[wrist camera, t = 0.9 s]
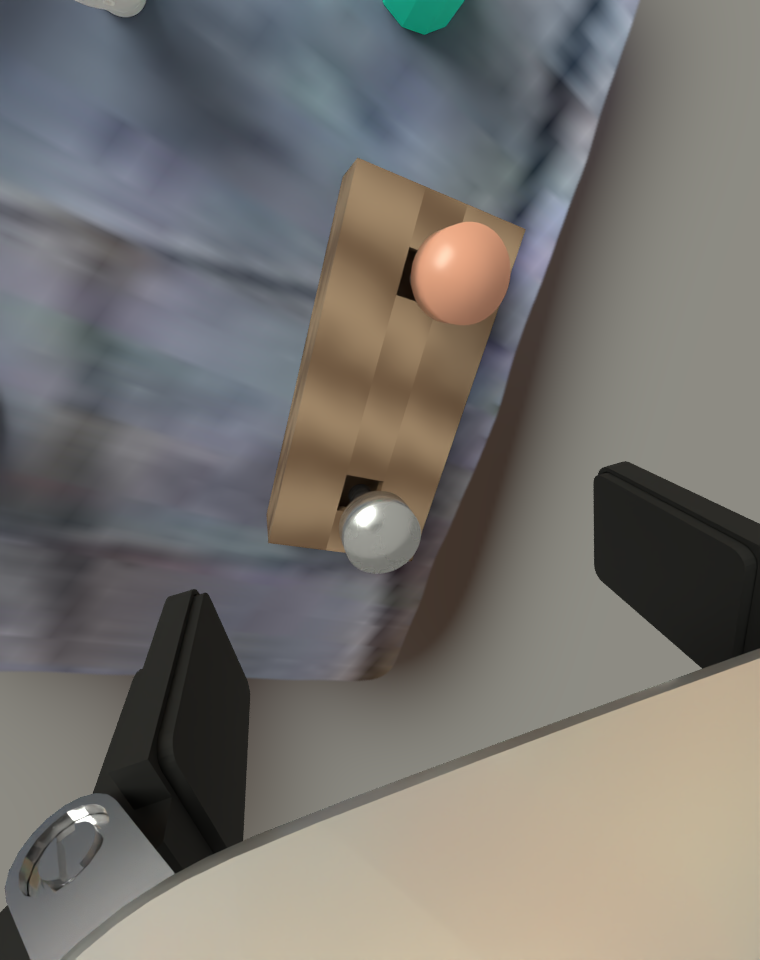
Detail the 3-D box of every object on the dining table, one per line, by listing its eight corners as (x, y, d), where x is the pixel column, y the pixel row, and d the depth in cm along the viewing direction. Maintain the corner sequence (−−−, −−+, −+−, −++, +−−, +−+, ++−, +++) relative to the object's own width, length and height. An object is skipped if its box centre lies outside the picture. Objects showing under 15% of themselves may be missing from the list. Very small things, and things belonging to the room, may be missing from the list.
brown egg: (443, 327, 32) (491, 336, 26) (377, 306, 31) (410, 310, 24) (467, 252, 31) (523, 241, 24) (399, 225, 29) (440, 206, 23)
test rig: (395, 533, 43) (411, 561, 39) (266, 514, 39) (268, 542, 35) (491, 237, 35) (525, 229, 31) (342, 177, 32) (357, 157, 27)
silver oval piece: (380, 527, 37) (407, 577, 31) (320, 518, 35) (335, 569, 29) (398, 470, 35) (431, 510, 29) (336, 458, 34) (356, 497, 27)
